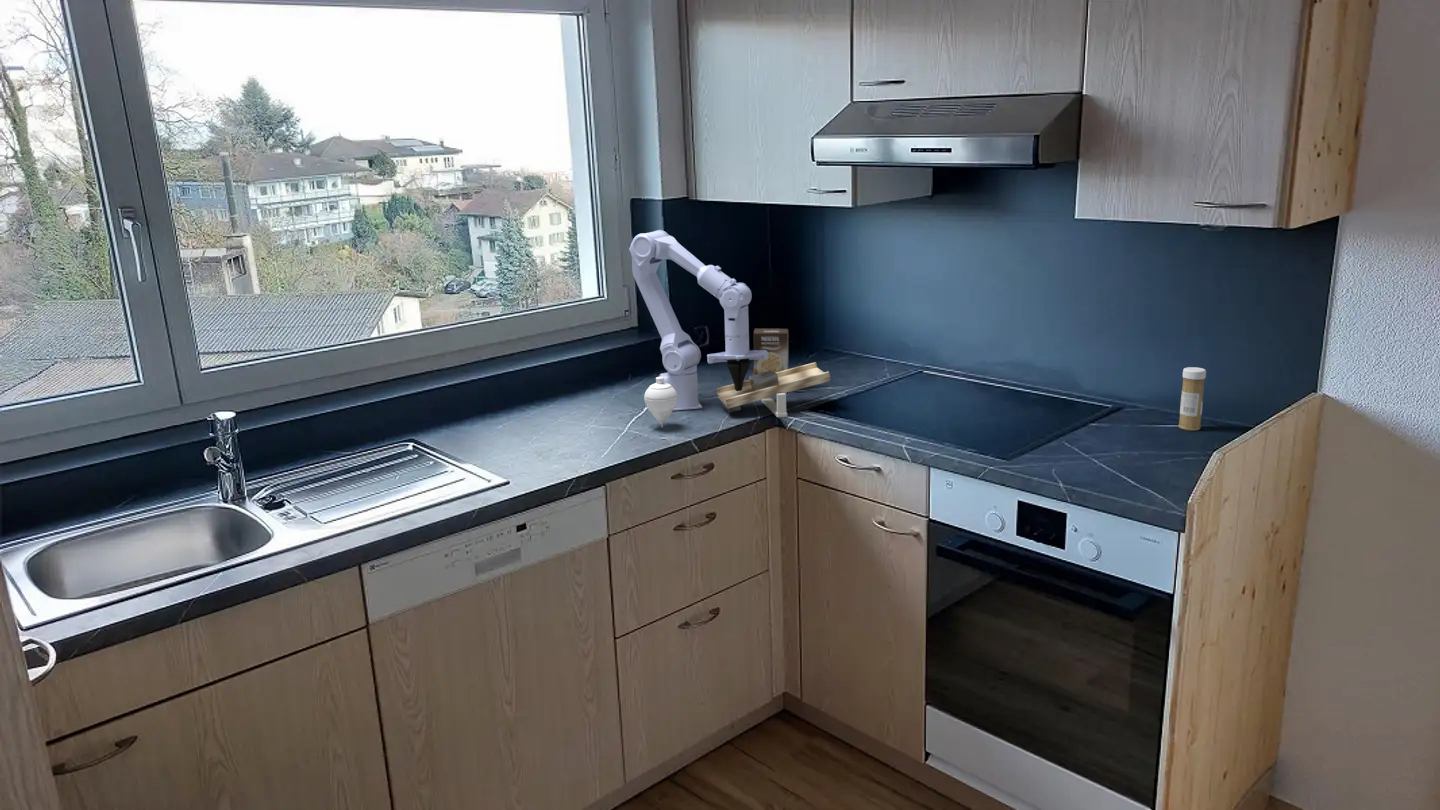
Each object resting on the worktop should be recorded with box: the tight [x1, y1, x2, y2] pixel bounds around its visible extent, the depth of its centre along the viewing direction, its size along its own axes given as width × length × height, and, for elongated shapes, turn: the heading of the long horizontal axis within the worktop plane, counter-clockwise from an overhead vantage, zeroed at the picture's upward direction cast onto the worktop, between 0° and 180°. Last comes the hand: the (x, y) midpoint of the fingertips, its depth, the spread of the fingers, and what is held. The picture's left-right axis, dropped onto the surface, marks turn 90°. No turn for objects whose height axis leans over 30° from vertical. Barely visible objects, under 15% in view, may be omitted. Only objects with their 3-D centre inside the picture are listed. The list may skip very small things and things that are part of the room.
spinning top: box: [643, 376, 677, 428], centre depth 235 cm, size 8×8×12 cm
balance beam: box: [716, 361, 832, 413], centre depth 248 cm, size 26×13×4 cm, turn 101°
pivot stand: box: [760, 393, 788, 418], centre depth 248 cm, size 2×16×6 cm, turn 12°
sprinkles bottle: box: [1178, 366, 1207, 431], centre depth 221 cm, size 5×5×13 cm
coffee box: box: [753, 328, 789, 375], centre depth 265 cm, size 9×6×16 cm
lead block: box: [748, 370, 779, 391], centre depth 247 cm, size 6×5×3 cm
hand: (738, 389), depth 246 cm, fingers closed
